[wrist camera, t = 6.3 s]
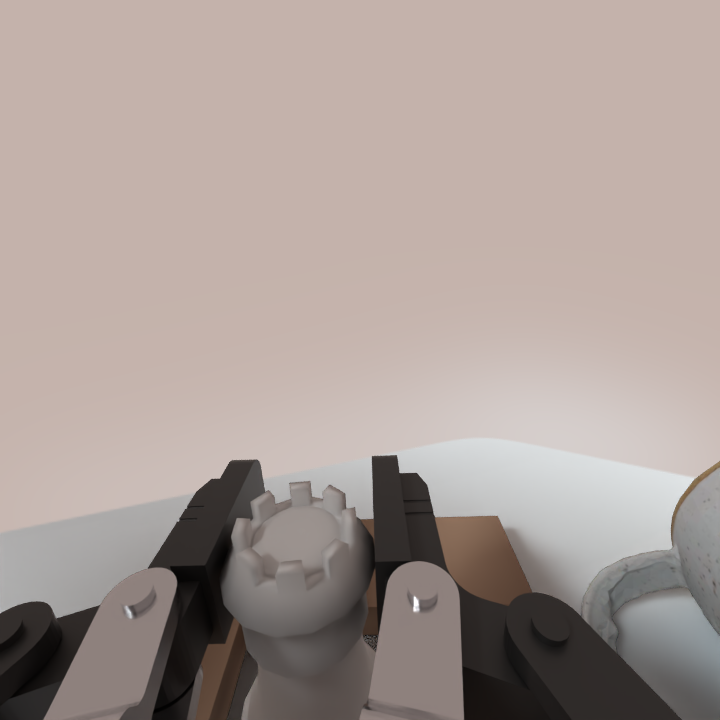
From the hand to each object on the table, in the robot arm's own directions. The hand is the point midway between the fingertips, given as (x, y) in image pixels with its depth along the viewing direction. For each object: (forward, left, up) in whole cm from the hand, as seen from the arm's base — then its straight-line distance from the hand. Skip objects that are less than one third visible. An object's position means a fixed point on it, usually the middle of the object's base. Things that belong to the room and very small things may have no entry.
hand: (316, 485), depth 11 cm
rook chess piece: (0, -3, -7) cm, 7 cm away
